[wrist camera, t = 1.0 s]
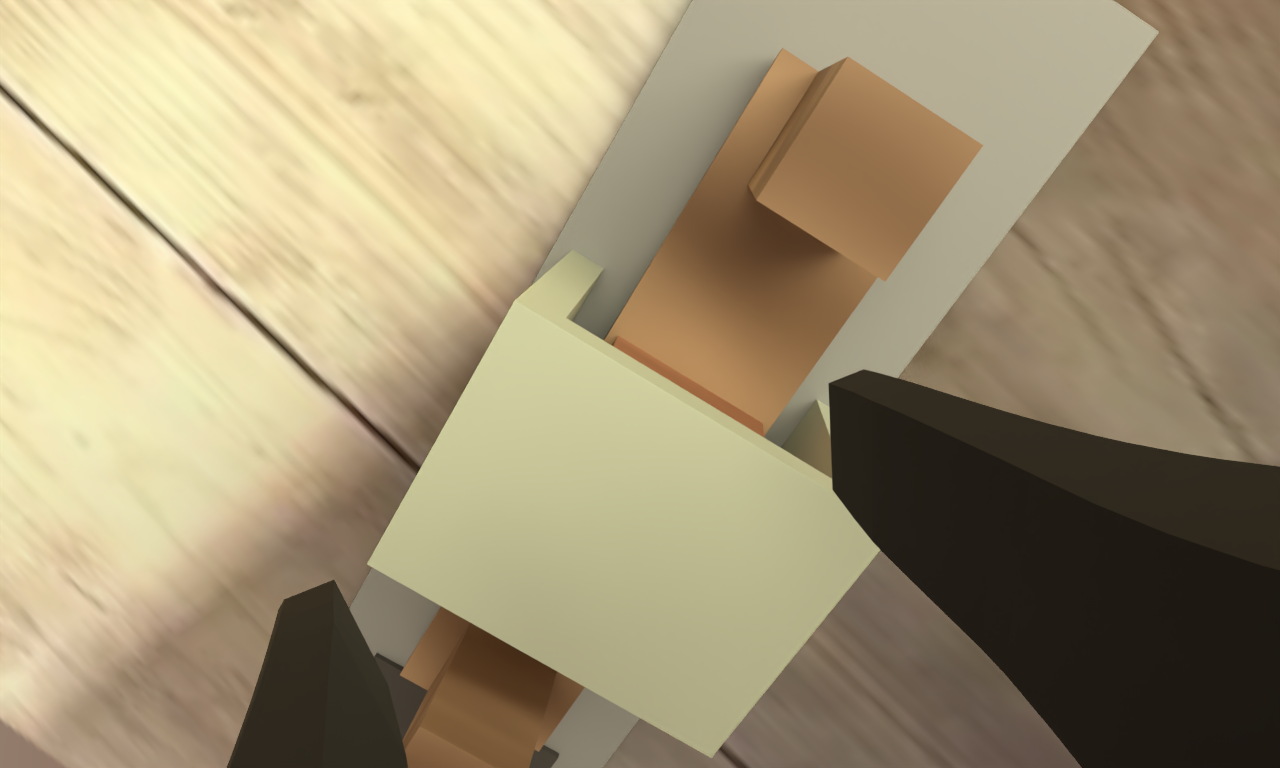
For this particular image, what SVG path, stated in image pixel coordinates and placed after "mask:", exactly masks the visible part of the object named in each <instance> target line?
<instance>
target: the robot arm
mask: <svg viewBox="0 0 1280 768" xmlns="http://www.w3.org/2000/svg"><path fill="white" fill-rule="evenodd" d="M828 384H829V411H830V437H831V463H832V490H833V491H834V492H835V494H836V495H837V496H838V498H839V499H840V500H841V502H842V503H843V504H844V506H845V507H846V509H847V510H848V511H849V513H850V514H851V515H852V517H853V518H854V519H855V520H856V522H857V523H858V524H859V525H860V527H861V528H862V529H863V530H864V532H865V533H866V534H867V535H868V537H869V538H870V539H871V540H872V542H873V543H874V544H875V545H876V546H877V547H878V548H879V549H880V550H881V551H882V552H883V553H884V554H885V555H886V556H887V557H888V558H889V559H890V560H891V561H892V562H893V563H894V564H895V565H896V566H897V567H898V568H899V569H900V570H901V571H902V572H903V573H904V574H905V575H906V576H907V577H908V578H909V579H910V580H911V581H912V582H913V583H914V584H915V585H916V586H918V587H919V588H920V589H921V590H922V591H923V592H924V593H925V594H926V595H927V596H928V597H929V598H930V599H931V600H932V601H933V602H934V603H935V604H936V605H937V606H938V607H939V608H940V609H941V610H942V611H943V612H944V613H945V614H946V615H947V616H948V617H949V618H950V619H951V620H952V621H953V622H954V623H955V624H957V625H958V626H959V627H960V628H961V629H962V630H963V631H964V632H965V633H966V634H967V635H968V636H969V637H970V638H971V639H972V640H973V641H974V642H975V643H976V644H977V645H978V646H979V647H980V648H981V649H982V650H983V651H984V652H985V653H986V654H987V655H988V656H989V657H990V658H991V659H992V661H993V662H994V663H995V664H996V665H997V666H998V667H999V668H1000V669H1001V670H1002V671H1003V672H1004V673H1005V674H1006V676H1007V677H1008V678H1009V679H1010V680H1011V681H1012V683H1013V684H1014V685H1015V686H1016V687H1017V689H1018V690H1019V691H1020V692H1021V693H1022V695H1023V696H1024V697H1025V698H1026V699H1027V701H1028V702H1029V703H1030V704H1031V705H1032V706H1033V708H1034V709H1035V710H1036V711H1037V712H1038V714H1039V715H1040V716H1041V717H1042V718H1043V720H1044V721H1045V722H1046V723H1047V724H1048V726H1049V727H1050V728H1051V729H1052V730H1053V732H1054V733H1055V734H1056V735H1057V737H1058V738H1059V739H1060V740H1061V742H1062V743H1063V744H1064V746H1065V747H1066V748H1067V749H1068V751H1069V752H1070V753H1071V754H1072V756H1073V757H1074V758H1075V759H1076V761H1077V762H1078V763H1079V764H1080V766H1081V767H1082V768H1280V467H1277V466H1269V465H1261V464H1253V463H1246V462H1238V461H1230V460H1222V459H1215V458H1209V457H1202V456H1196V455H1190V454H1184V453H1178V452H1173V451H1168V450H1163V449H1157V448H1152V447H1147V446H1141V445H1136V444H1131V443H1126V442H1121V441H1117V440H1112V439H1108V438H1103V437H1099V436H1095V435H1091V434H1087V433H1083V432H1079V431H1075V430H1071V429H1067V428H1063V427H1059V426H1055V425H1051V424H1047V423H1044V422H1040V421H1037V420H1033V419H1029V418H1026V417H1022V416H1019V415H1015V414H1012V413H1009V412H1005V411H1002V410H998V409H995V408H992V407H988V406H985V405H982V404H979V403H975V402H972V401H969V400H966V399H963V398H959V397H956V396H953V395H950V394H947V393H943V392H940V391H937V390H934V389H931V388H928V387H924V386H921V385H918V384H915V383H911V382H908V381H905V380H902V379H898V378H895V377H891V376H888V375H884V374H881V373H877V372H873V371H869V370H865V369H863V370H860V371H858V372H855V373H853V374H850V375H848V376H845V377H843V378H840V379H838V380H835V381H833V382H830V383H828ZM227 768H408V764H407V757H406V753H405V749H404V745H403V741H402V737H401V733H400V729H399V725H398V721H397V717H396V713H395V709H394V706H393V702H392V698H391V694H390V690H389V686H388V683H387V681H386V679H385V678H384V676H383V674H382V672H381V670H380V668H379V666H378V664H377V662H376V660H375V658H374V656H373V654H372V652H371V650H370V648H369V646H368V645H367V643H366V641H365V639H364V637H363V635H362V633H361V631H360V629H359V627H358V625H357V623H356V621H355V619H354V617H353V615H352V614H351V612H350V610H349V608H348V606H347V604H346V602H345V600H344V598H343V596H342V594H341V592H340V590H339V588H338V586H337V584H336V582H335V581H334V580H332V581H330V582H327V583H325V584H322V585H320V586H317V587H315V588H312V589H310V590H307V591H305V592H302V593H300V594H297V595H295V596H292V597H290V598H287V599H285V600H284V601H283V603H282V605H281V606H280V608H279V610H278V614H277V617H276V621H275V625H274V628H273V632H272V635H271V639H270V642H269V646H268V649H267V652H266V656H265V659H264V662H263V665H262V669H261V672H260V675H259V678H258V681H257V684H256V687H255V690H254V693H253V696H252V699H251V702H250V705H249V708H248V711H247V714H246V716H245V719H244V722H243V725H242V728H241V730H240V733H239V736H238V739H237V741H236V744H235V747H234V750H233V753H232V755H231V758H230V761H229V763H228V766H227Z"/></svg>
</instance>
